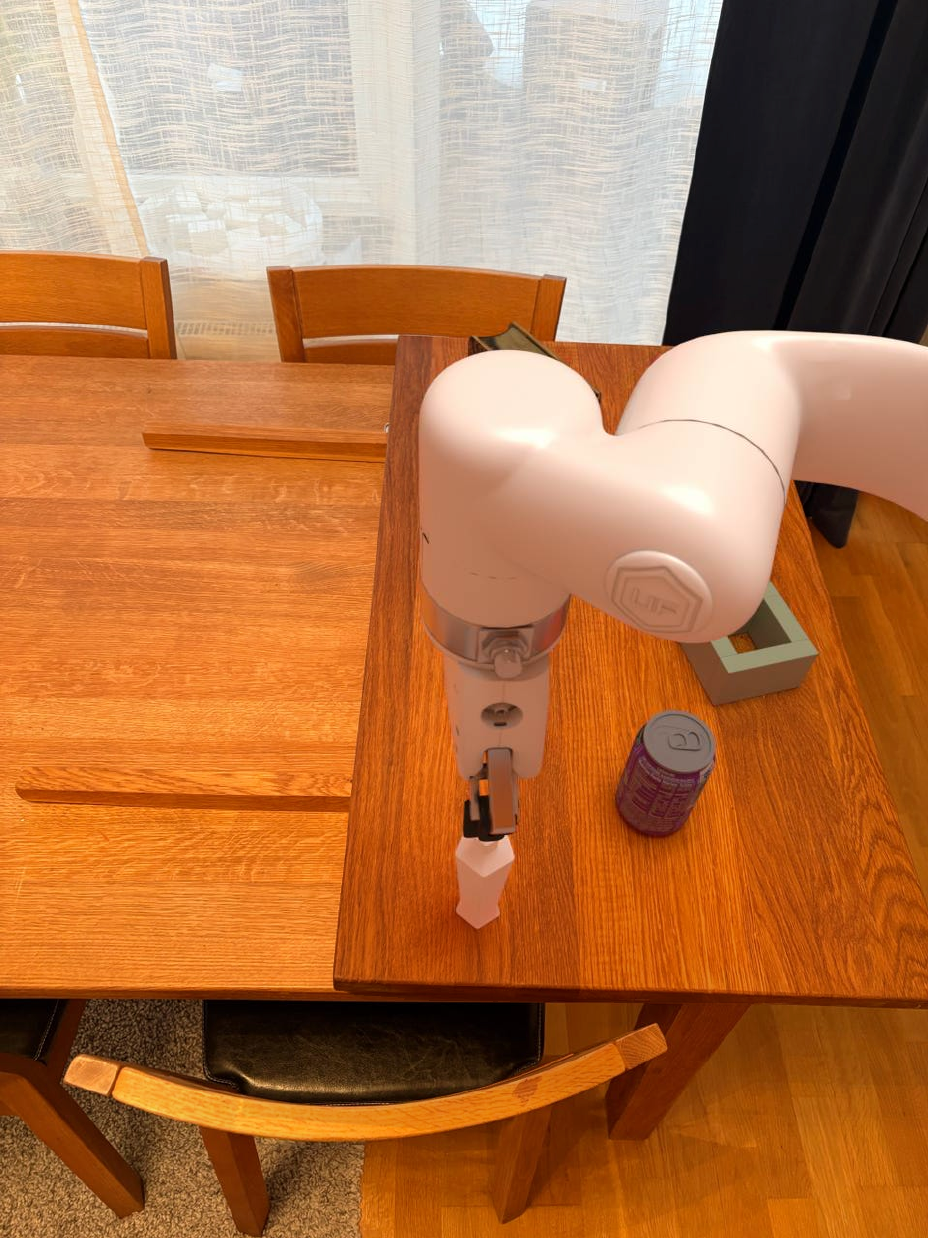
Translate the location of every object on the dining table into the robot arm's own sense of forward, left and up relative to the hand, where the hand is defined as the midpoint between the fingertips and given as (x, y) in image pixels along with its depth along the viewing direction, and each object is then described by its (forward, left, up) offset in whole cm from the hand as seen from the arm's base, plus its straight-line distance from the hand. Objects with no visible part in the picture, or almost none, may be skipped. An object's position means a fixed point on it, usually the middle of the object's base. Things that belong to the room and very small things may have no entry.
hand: (479, 763), depth 56 cm
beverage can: (+5, -20, -25) cm, 33 cm away
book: (+42, -18, -25) cm, 52 cm away
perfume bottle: (0, -1, -25) cm, 25 cm away
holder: (+19, -36, -25) cm, 48 cm away
